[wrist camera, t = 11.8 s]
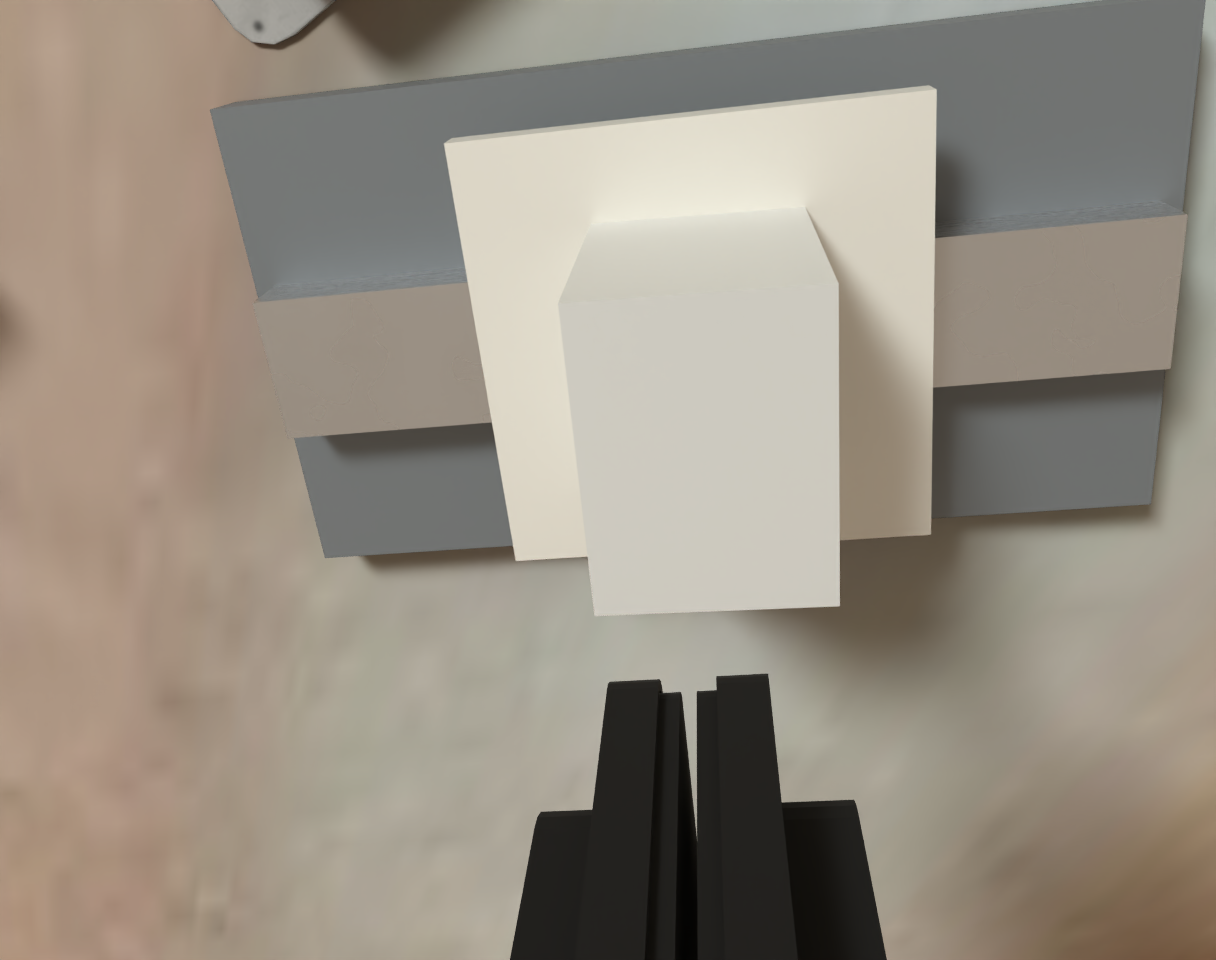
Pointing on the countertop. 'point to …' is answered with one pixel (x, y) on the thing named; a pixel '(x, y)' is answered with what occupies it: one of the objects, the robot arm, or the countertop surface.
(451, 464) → the rail mount
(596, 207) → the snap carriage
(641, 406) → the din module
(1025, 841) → the countertop surface
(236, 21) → the emergency button
